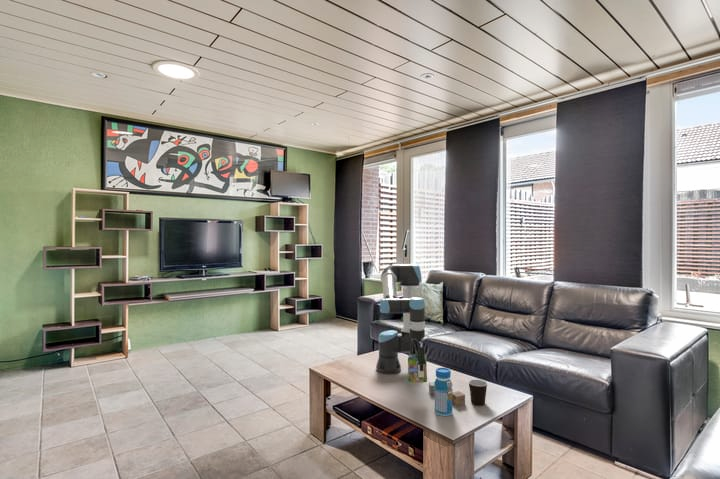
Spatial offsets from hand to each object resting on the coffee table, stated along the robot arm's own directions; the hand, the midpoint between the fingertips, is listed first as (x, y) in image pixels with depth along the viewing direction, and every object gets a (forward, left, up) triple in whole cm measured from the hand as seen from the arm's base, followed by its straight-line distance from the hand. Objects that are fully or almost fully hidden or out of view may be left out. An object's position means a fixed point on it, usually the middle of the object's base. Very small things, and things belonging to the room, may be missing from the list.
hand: (417, 372), depth 193 cm
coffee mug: (+7, +29, -14) cm, 33 cm away
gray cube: (-7, +11, -14) cm, 19 cm away
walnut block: (+7, +18, -14) cm, 24 cm away
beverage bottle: (+15, +8, -14) cm, 22 cm away
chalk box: (0, 0, -3) cm, 3 cm away
